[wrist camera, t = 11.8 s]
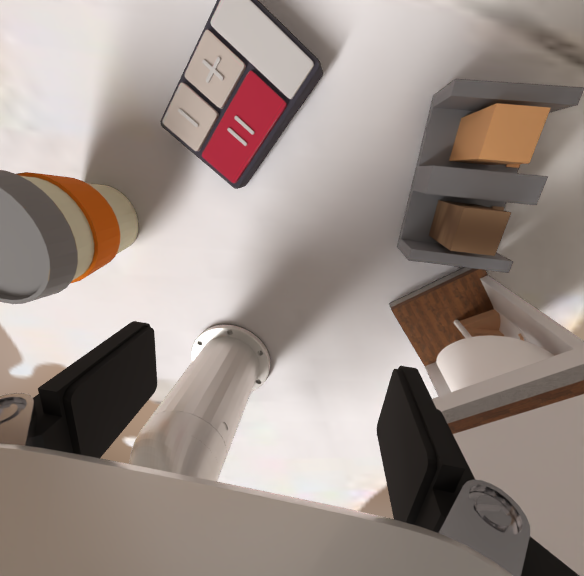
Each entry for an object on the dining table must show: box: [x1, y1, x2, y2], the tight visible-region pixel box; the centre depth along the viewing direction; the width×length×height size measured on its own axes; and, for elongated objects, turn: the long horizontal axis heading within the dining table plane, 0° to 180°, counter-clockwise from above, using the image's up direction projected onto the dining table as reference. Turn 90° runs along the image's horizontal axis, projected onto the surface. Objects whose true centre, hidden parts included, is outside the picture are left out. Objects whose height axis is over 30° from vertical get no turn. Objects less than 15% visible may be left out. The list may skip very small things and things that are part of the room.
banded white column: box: [389, 267, 584, 576], centre depth 22 cm, size 11×11×35 cm
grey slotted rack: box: [397, 79, 584, 273], centre depth 29 cm, size 16×10×6 cm, turn 175°
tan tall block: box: [449, 103, 550, 165], centre depth 26 cm, size 4×4×7 cm
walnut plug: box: [429, 200, 511, 256], centre depth 30 cm, size 4×4×7 cm
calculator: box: [161, 0, 323, 189], centre depth 31 cm, size 11×4×15 cm
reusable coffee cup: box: [0, 170, 139, 304], centre depth 33 cm, size 12×13×15 cm
